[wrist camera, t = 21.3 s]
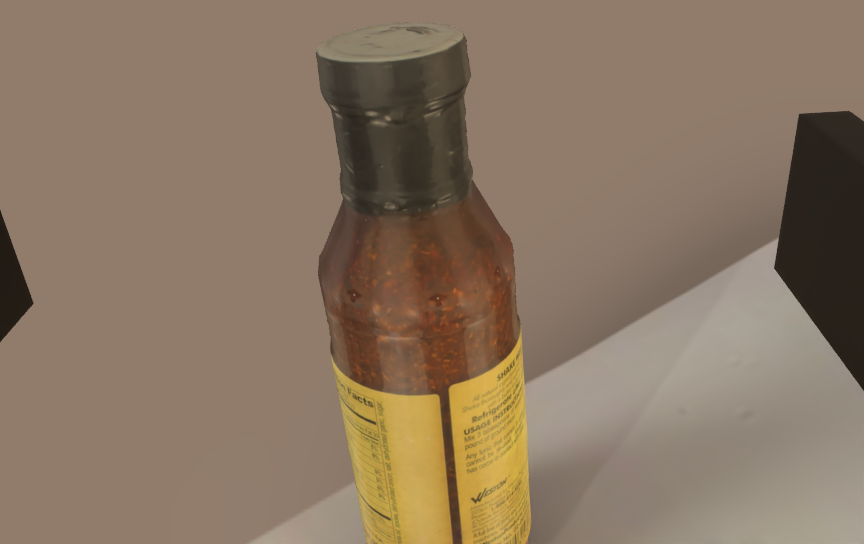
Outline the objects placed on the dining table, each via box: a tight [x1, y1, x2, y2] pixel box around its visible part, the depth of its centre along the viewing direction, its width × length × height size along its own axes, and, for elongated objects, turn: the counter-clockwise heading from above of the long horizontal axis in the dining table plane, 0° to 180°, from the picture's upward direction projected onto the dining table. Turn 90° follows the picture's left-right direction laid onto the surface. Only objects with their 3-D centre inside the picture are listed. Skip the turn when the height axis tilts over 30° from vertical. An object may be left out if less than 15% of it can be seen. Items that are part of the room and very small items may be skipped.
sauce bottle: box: [316, 23, 531, 544], centre depth 26 cm, size 6×6×20 cm
